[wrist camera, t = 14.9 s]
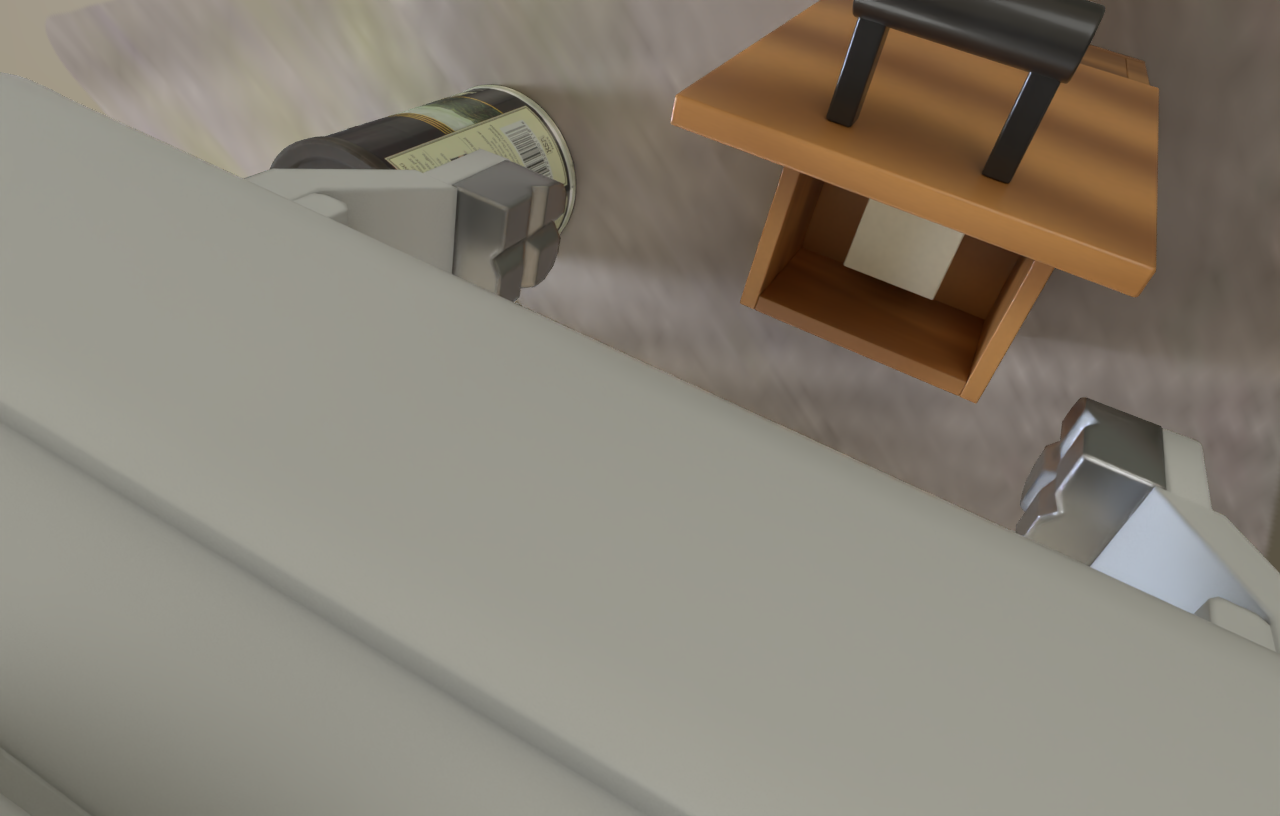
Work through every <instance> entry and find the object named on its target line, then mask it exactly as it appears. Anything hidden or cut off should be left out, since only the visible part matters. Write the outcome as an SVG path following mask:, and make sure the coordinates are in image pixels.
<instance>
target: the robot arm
mask: <svg viewBox="0 0 1280 816" xmlns="http://www.w3.org/2000/svg"><path fill="white" fill-rule="evenodd" d="M566 195H567V193H566V190H565V187H564V184H563V183H561V182H558V181H556V180H554V179H551V178H549V177H547V176H545V175H542V174H540V173H538V172H535V171H533V170H531V169H528V168H526V167H524V166H521V165H519V164H517V163H514V162H512V161H510V160H509V159H507V158H504V157H502V156H499V155H496V154H494V153H491V152H488V151H485V150H483V149H479V150H477V151H474V152H472V153H469V154H467V155H465V156H462V157H460V158H457V159H455V160H453V161H450V162H448V163H445V164H443V165H441V166H438V167H436V168H434V169H431V170H429V171H426V172H424V173H421V172H419V171H417V170H383V169H270V170H267V171H264V172H261V173H258V174H255V175H253V176H250V177H247V178H244V179H243V178H241V177H239V176H237V175H234V174H232V173H230V172H228V171H226V170H224V169H221V168H219V167H217V166H215V165H213V164H210V163H208V162H206V161H204V160H202V159H200V158H197V157H195V156H193V155H191V154H189V153H186V152H184V151H182V150H180V149H178V148H175V147H173V146H171V145H169V144H167V143H165V142H162V141H160V140H158V139H156V138H154V137H151V136H149V135H147V134H145V133H143V132H141V131H138V130H136V129H134V128H132V127H130V126H127V125H125V124H123V123H121V122H119V121H117V120H114V119H112V118H110V117H108V116H106V115H103V114H101V113H99V112H97V111H95V110H93V109H90V108H88V107H86V106H84V105H82V104H79V103H77V102H75V101H73V100H71V99H69V98H67V97H65V96H63V95H61V94H59V93H57V92H55V91H53V90H51V89H49V88H47V87H45V86H43V85H40V84H38V83H36V82H33V81H31V80H29V79H26V78H23V77H20V76H17V75H12V74H7V73H1V72H0V816H1280V573H1279V572H1278V571H1277V570H1276V569H1275V568H1274V567H1273V566H1272V565H1271V564H1270V563H1269V562H1268V560H1267V559H1266V558H1265V557H1264V556H1263V555H1262V554H1261V553H1260V552H1259V551H1258V550H1257V549H1256V548H1255V547H1254V546H1253V545H1252V544H1251V543H1250V542H1249V541H1248V540H1247V539H1246V537H1245V536H1244V535H1243V534H1242V533H1241V532H1240V531H1239V530H1238V529H1237V528H1236V527H1235V526H1234V525H1233V524H1232V523H1231V522H1230V521H1229V520H1228V519H1227V518H1226V517H1225V516H1224V515H1222V514H1220V513H1218V512H1215V511H1213V510H1212V506H1211V499H1210V493H1209V487H1208V481H1207V474H1206V468H1205V462H1204V456H1203V449H1202V445H1201V444H1200V443H1199V442H1198V441H1196V440H1194V439H1191V438H1188V437H1185V436H1183V435H1180V434H1177V433H1174V432H1172V431H1169V430H1166V429H1163V428H1161V426H1159V425H1156V424H1154V423H1151V422H1148V421H1146V420H1143V419H1141V418H1138V417H1136V416H1133V415H1130V414H1128V413H1125V412H1123V411H1120V410H1117V409H1115V408H1112V407H1110V406H1107V405H1104V404H1102V403H1099V402H1097V401H1094V400H1091V399H1089V398H1080V399H1079V400H1078V401H1077V402H1076V404H1075V405H1074V406H1073V407H1072V408H1071V410H1070V411H1069V413H1068V414H1067V416H1066V417H1065V418H1064V420H1063V421H1062V428H1061V436H1060V441H1058V442H1055V443H1053V444H1050V445H1048V446H1046V447H1045V448H1044V450H1043V451H1042V453H1041V455H1040V456H1039V458H1038V459H1037V461H1036V463H1035V464H1034V466H1033V468H1032V470H1031V472H1030V474H1029V476H1028V478H1027V480H1026V482H1025V485H1024V488H1023V491H1022V495H1021V500H1020V506H1021V508H1022V509H1023V511H1024V512H1025V513H1024V514H1023V516H1022V517H1021V518H1020V520H1019V521H1018V523H1017V525H1016V532H1013V531H1011V530H1009V529H1006V528H1004V527H1002V526H1000V525H998V524H995V523H993V522H991V521H989V520H987V519H985V518H982V517H980V516H978V515H976V514H974V513H971V512H969V511H967V510H965V509H963V508H961V507H958V506H956V505H954V504H952V503H950V502H947V501H945V500H943V499H941V498H939V497H937V496H934V495H932V494H930V493H928V492H926V491H924V490H921V489H919V488H917V487H915V486H913V485H910V484H908V483H906V482H904V481H902V480H900V479H897V478H895V477H893V476H891V475H889V474H886V473H884V472H882V471H880V470H878V469H876V468H873V467H871V466H869V465H867V464H865V463H862V462H860V461H858V460H856V459H854V458H852V457H849V456H847V455H845V454H843V453H841V452H838V451H836V450H834V449H832V448H830V447H828V446H825V445H823V444H821V443H819V442H817V441H814V440H812V439H810V438H808V437H806V436H804V435H801V434H799V433H797V432H795V431H793V430H791V429H788V428H786V427H784V426H782V425H780V424H777V423H775V422H773V421H771V420H769V419H767V418H764V417H762V416H760V415H758V414H756V413H753V412H751V411H749V410H747V409H745V408H743V407H740V406H738V405H736V404H734V403H732V402H729V401H727V400H725V399H723V398H721V397H719V396H716V395H714V394H712V393H710V392H708V391H706V390H703V389H701V388H699V387H697V386H695V385H692V384H690V383H688V382H686V381H684V380H682V379H679V378H677V377H675V376H673V375H671V374H668V373H666V372H664V371H662V370H660V369H658V368H655V367H653V366H651V365H649V364H647V363H644V362H642V361H640V360H638V359H636V358H634V357H631V356H629V355H627V354H625V353H623V352H621V351H618V350H616V349H614V348H612V347H610V346H607V345H605V344H603V343H601V342H599V341H597V340H594V339H592V338H590V337H588V336H586V335H583V334H581V333H579V332H577V331H575V330H573V329H570V328H568V327H566V326H564V325H562V324H559V323H557V322H555V321H553V320H551V319H549V318H546V317H544V316H542V315H540V314H538V313H536V312H533V311H531V310H529V309H527V308H525V307H522V306H520V305H518V304H516V303H514V301H515V300H517V299H518V298H519V296H520V289H521V288H528V287H535V286H536V285H538V284H539V283H540V282H542V281H543V280H544V279H545V278H546V276H547V275H548V273H549V272H550V270H551V269H552V267H553V266H554V263H555V260H556V257H557V254H558V250H559V244H560V235H559V233H558V230H557V228H556V225H555V221H556V220H557V219H558V218H559V217H560V216H561V215H562V214H563V213H564V212H565V203H566Z"/></svg>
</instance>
